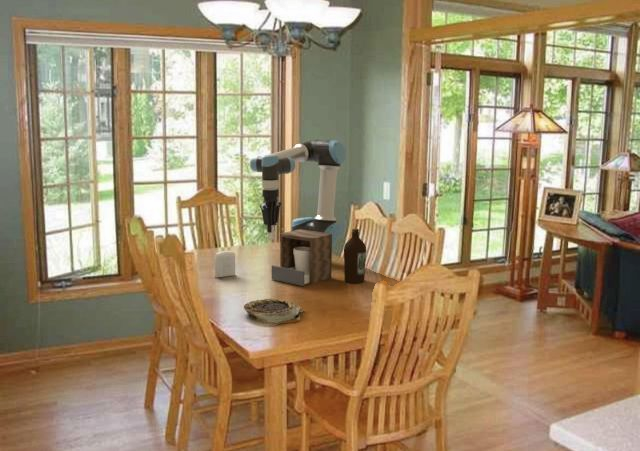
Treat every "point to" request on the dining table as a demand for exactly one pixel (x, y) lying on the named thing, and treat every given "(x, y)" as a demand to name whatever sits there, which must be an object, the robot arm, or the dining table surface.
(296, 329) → the dining table surface
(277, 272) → the tray
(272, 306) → the pie
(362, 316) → the dining table surface
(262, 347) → the dining table surface
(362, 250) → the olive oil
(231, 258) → the photo printer
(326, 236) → the cabinet
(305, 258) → the foam cup
